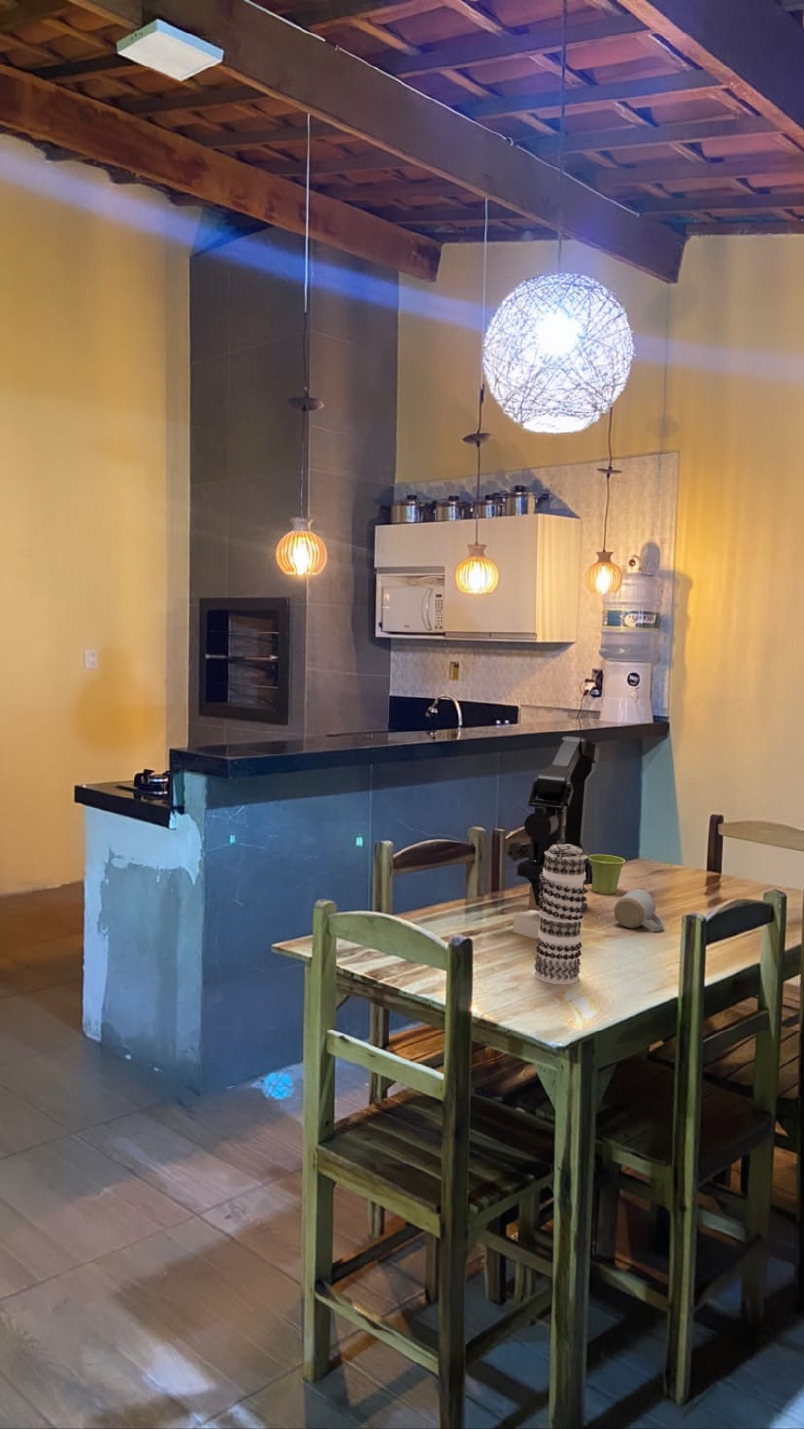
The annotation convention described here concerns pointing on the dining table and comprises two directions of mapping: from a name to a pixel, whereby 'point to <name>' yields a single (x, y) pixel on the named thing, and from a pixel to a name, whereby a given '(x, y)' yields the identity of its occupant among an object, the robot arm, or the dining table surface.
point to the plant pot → (605, 873)
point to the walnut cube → (533, 901)
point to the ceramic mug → (637, 911)
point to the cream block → (527, 923)
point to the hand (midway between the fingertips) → (544, 903)
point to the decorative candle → (561, 914)
